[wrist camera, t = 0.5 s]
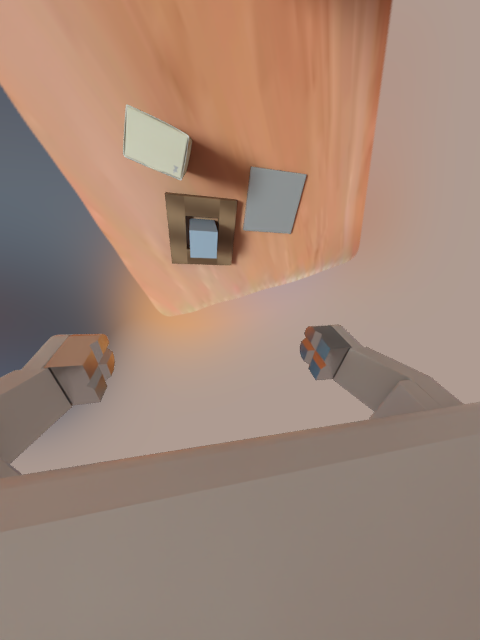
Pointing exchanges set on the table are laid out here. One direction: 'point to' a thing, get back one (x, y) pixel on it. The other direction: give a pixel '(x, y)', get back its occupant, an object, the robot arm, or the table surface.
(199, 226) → the blue block
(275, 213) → the ceramic pad
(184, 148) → the skincare box
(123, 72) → the table surface
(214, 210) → the walnut stand
